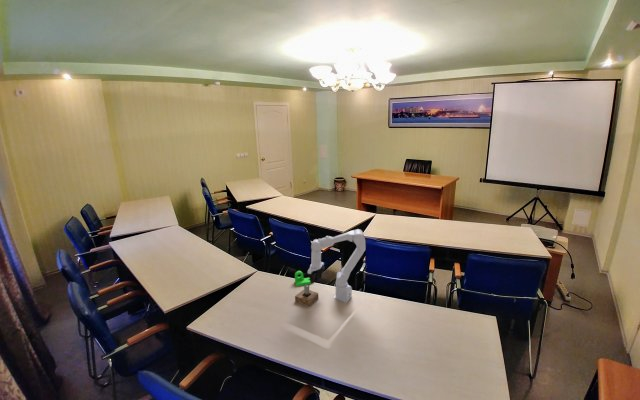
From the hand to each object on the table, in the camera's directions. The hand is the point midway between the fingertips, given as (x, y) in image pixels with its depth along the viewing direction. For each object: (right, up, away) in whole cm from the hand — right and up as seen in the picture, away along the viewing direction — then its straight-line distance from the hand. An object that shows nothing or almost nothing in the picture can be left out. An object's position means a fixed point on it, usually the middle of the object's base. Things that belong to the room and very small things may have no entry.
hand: (315, 280), depth 173 cm
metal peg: (-5, -11, -2) cm, 13 cm away
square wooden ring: (-5, -11, -2) cm, 13 cm away
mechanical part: (-8, -7, +18) cm, 21 cm away
